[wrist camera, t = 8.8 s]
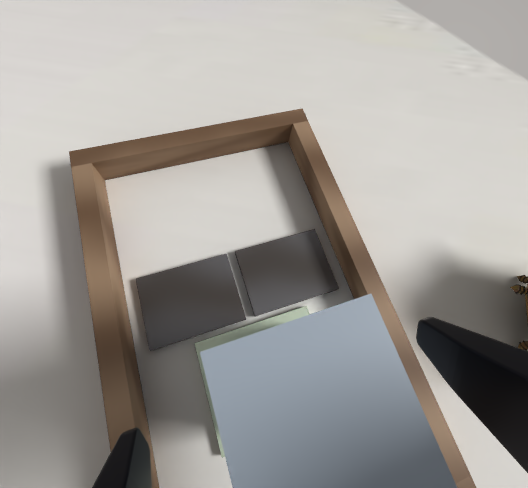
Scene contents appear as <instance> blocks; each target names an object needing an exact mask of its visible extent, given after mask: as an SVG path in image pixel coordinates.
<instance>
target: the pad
mask: <svg viewBox="0 0 528 488" xmlns="http://www.w3.org/2000/svg"><path fill="white" fill-rule="evenodd" d="M307 315H310V314H309V312H308V309H307V306H305V307H302V308H299V309H296V310H293V311H290V312H287V313H284V314H281V315H278V316H275V317H272V318H269V319H266V320H263V321H260V322H257V323H254V324H251V325H248V326H245V327H242V328H239V329H236V330H233V331H230V332H227V333H224V334H221V335H218V336H215V337H212V338H209V339H206V340H203V341H200V342H197V343H195V348H196V352H197V356H198V360H199V364H200V368H201V373H202V377H203V381H204V385H205V389H206V394H207V398H208V402H209V406H210V410H211V414H212V419H213V423H214V427H215V431H216V435H217V439H218V444H219V448H220V452H221V456H222V457H225V453H224V449H223V445H222V441H221V437H220V433H219V429H218V425H217V421H216V416H215V412H214V408H213V404H212V400H211V396H210V392H209V388H208V384H207V380H206V375H205V371H204V367H203V363H202V359H201V355H200V352H201V351H204V350H207V349H210V348H213V347H216V346H219V345H222V344H225V343H228V342H231V341H234V340H237V339H239V338H242V337H245V336H248V335H251V334H254V333H257V332H260V331H263V330H266V329H269V328H272V327H275V326H277V325H280V324H283V323H286V322H289V321H292V320H295V319H298V318H301V317H304V316H307Z"/></svg>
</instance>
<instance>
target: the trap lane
mask: <svg viewBox="0 0 528 488" xmlns="http://www.w3.org/2000/svg"><path fill="white" fill-rule="evenodd" d="M286 142H288V143H289V145H290V147H291V150H292V152H293V155H294V157H295V159H296V162H297V164H298V166H299V169H300V171H301V173H302V176H303V178H304V181H305V183H306V185H307V188H308V190H309V192H310V195H311V197H312V200H313V202H314V204H315V207H316V209H317V211H318V214H319V216H320V219H321V221H322V223H323V226H324V228H325V230H326V233H327V235H328V238H329V240H330V242H331V245H332V247H333V249H334V252H335V254H336V257H337V259H338V261H339V264H340V266H341V268H342V271H343V273H344V276H345V278H346V280H347V283H348V285H349V287H350V290H351V292H352V295H353V297H354V299H356V298H359V297H362V296H365V295H368V294H372V296H373V298H374V301H375V303H376V305H377V307H378V310H379V312H380V314H381V316H382V319H383V321H384V323H385V325H386V328H387V330H388V332H389V335H390V337H391V339H392V341H393V344H394V346H395V348H396V350H397V353H398V355H399V357H400V359H401V362H402V364H403V366H404V368H405V371H406V373H407V375H408V377H409V380H410V382H411V384H412V386H413V389H414V391H415V393H416V395H417V398H418V400H419V402H420V405H421V407H422V409H423V411H424V414H425V416H426V418H427V420H428V423H429V425H430V427H431V429H432V432H433V434H434V436H435V438H436V441H437V443H438V445H439V447H440V450H441V452H442V454H443V456H444V459H445V461H446V463H447V465H448V468H449V470H450V472H451V474H452V477H453V479H454V481H455V484H456V486H457V488H476V486H475V484H474V482H473V479H472V477H471V475H470V473H469V471H468V468H467V466H466V464H465V462H464V460H463V458H462V455H461V453H460V451H459V449H458V447H457V445H456V442H455V440H454V438H453V436H452V434H451V431H450V429H449V427H448V425H447V423H446V421H445V418H444V416H443V414H442V412H441V410H440V407H439V405H438V403H437V401H436V399H435V397H434V394H433V392H432V390H431V388H430V386H429V383H428V381H427V379H426V377H425V375H424V373H423V370H422V368H421V366H420V364H419V362H418V360H417V357H416V355H415V353H414V351H413V349H412V346H411V344H410V342H409V340H408V338H407V336H406V333H405V331H404V329H403V327H402V325H401V322H400V320H399V318H398V316H397V314H396V312H395V309H394V307H393V305H392V303H391V301H390V299H389V296H388V294H387V292H386V290H385V288H384V285H383V283H382V281H381V279H380V277H379V275H378V272H377V270H376V268H375V266H374V264H373V261H372V259H371V257H370V255H369V253H368V251H367V248H366V246H365V244H364V242H363V240H362V238H361V235H360V233H359V231H358V229H357V227H356V224H355V222H354V220H353V218H352V216H351V214H350V211H349V209H348V207H347V205H346V203H345V200H344V198H343V196H342V194H341V192H340V190H339V187H338V185H337V183H336V181H335V179H334V176H333V174H332V172H331V170H330V168H329V166H328V163H327V161H326V159H325V157H324V155H323V153H322V150H321V148H320V146H319V144H318V142H317V139H316V137H315V135H314V133H313V131H312V129H311V126H310V124H309V122H308V120H307V118H306V115H305V113H304V111H303V109H297V110H292V111H286V112H281V113H276V114H270V115H265V116H259V117H254V118H249V119H243V120H238V121H232V122H227V123H221V124H216V125H211V126H205V127H200V128H194V129H189V130H184V131H178V132H173V133H167V134H162V135H157V136H151V137H146V138H140V139H135V140H129V141H124V142H119V143H113V144H108V145H102V146H97V147H92V148H86V149H81V150H75V151H70V152H69V154H70V162H71V169H72V176H73V183H74V190H75V198H76V205H77V212H78V219H79V226H80V234H81V241H82V248H83V255H84V262H85V270H86V277H87V284H88V291H89V298H90V306H91V313H92V320H93V327H94V334H95V342H96V349H97V356H98V363H99V370H100V377H101V385H102V392H103V399H104V406H105V413H106V421H107V428H108V435H109V442H110V449H111V451H112V449H113V448H114V446H115V444H116V442H117V440H118V438H119V436H120V435H121V434H122V433H123V432H125V431H127V430H130V429H133V428H136V427H137V428H139V429H140V430H141V432H142V434H143V435H144V437H145V439H146V440H147V442H148V444H149V448H150V458H151V478H152V488H159V484H158V478H157V472H156V467H155V461H154V456H153V450H152V444H151V439H150V433H149V427H148V422H147V416H146V410H145V405H144V399H143V394H142V388H141V382H140V377H139V371H138V365H137V360H136V354H135V349H134V343H133V337H132V332H131V326H130V320H129V315H128V309H127V303H126V298H125V292H124V287H123V281H122V275H121V270H120V264H119V258H118V253H117V247H116V241H115V236H114V230H113V225H112V219H111V213H110V208H109V202H108V196H107V191H106V185H105V180H107V179H112V178H117V177H122V176H127V175H132V174H136V173H141V172H146V171H151V170H156V169H160V168H165V167H170V166H175V165H180V164H185V163H189V162H194V161H199V160H204V159H209V158H213V157H218V156H223V155H228V154H233V153H238V152H242V151H247V150H252V149H257V148H262V147H266V146H271V145H276V144H281V143H286ZM235 254H236V257H237V260H238V263H239V267H240V270H241V273H242V276H243V280H244V283H245V286H246V289H247V293H248V296H249V299H250V302H251V305H252V309H253V312H254V315H255V316H258V315H261V314H264V313H267V312H270V311H273V310H276V309H279V308H282V307H285V306H288V305H292V304H295V303H298V302H301V301H304V300H307V299H310V298H313V297H316V296H319V295H322V294H325V293H328V292H331V291H334V290H337V289H339V287H338V285H337V282H336V280H335V278H334V275H333V273H332V270H331V268H330V265H329V263H328V260H327V258H326V256H325V253H324V251H323V248H322V246H321V243H320V241H319V238H318V236H317V234H316V231H315V229H313V230H310V231H306V232H303V233H299V234H295V235H292V236H288V237H285V238H281V239H277V240H274V241H270V242H267V243H263V244H259V245H256V246H252V247H249V248H245V249H241V250H238V251H235ZM136 282H137V287H138V292H139V298H140V303H141V308H142V313H143V318H144V324H145V329H146V334H147V339H148V344H149V350H150V351H152V350H155V349H158V348H161V347H164V346H167V345H170V344H173V343H176V342H179V341H182V340H185V339H188V338H191V337H194V336H197V335H200V334H203V333H206V332H209V331H213V330H216V329H219V328H222V327H225V326H228V325H231V324H234V323H237V322H240V321H243V320H246V317H245V314H244V310H243V307H242V304H241V300H240V297H239V294H238V290H237V287H236V284H235V280H234V277H233V273H232V270H231V267H230V263H229V260H228V257H227V254H223V255H220V256H216V257H213V258H209V259H205V260H202V261H198V262H195V263H191V264H187V265H184V266H180V267H177V268H173V269H169V270H166V271H162V272H159V273H155V274H151V275H148V276H144V277H141V278H137V279H136Z"/></svg>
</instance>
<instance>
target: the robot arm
mask: <svg viewBox="0 0 528 488" xmlns="http://www.w3.org/2000/svg"><path fill="white" fill-rule="evenodd" d="M416 339H417V343H418V345H419V346H420V348H421V349H422V350H423V351H424V353H425V354H426V355H427V357H428V358H429V359H430V361H431V362H432V363H433V365H434V366H435V367H436V369H437V370H438V371H439V373H440V374H441V375H442V377H443V378H444V379H445V381H446V382H447V383H448V384H449V386H450V387H451V388H452V389H453V390H454V392H455V393H456V394H457V395H458V396H459V397H460V398H461V399H462V401H463V402H464V403H465V404H466V405H467V406H468V407H469V408H470V409H471V411H472V412H473V413H474V414H475V415H476V416H477V417H478V418H479V419H480V421H481V422H482V423H483V424H484V425H485V426H486V427H487V428H488V429H489V431H490V432H491V433H492V434H493V435H494V436H495V437H496V438H497V439H498V441H499V442H500V443H501V444H502V445H503V446H504V447H505V448H506V449H507V451H508V452H509V453H510V454H511V455H512V456H513V457H514V458H515V459H516V461H517V462H518V463H519V464H520V465H521V466H522V467H523V468H524V469H525V471H526V472H527V473H528V351H525V350H522V349H520V348H517V347H514V346H511V345H508V344H506V343H503V342H500V341H497V340H495V339H492V338H489V337H486V336H483V335H481V334H478V333H475V332H472V331H470V330H467V329H464V328H461V327H459V326H456V325H453V324H450V323H447V322H445V321H442V320H439V319H436V318H433V317H427V318H425V319H422V320H420V321H419V322H418V328H417V336H416ZM92 488H152V478H151V458H150V448H149V444H148V442H147V440H146V439H145V437H144V435H143V434H142V432H141V430H140V429H139V428H137V427H136V428H133V429H130V430H127V431H125V432H123V433H122V434H121V435H120V436H119V438H118V440H117V442H116V444H115V446H114V448H113V449H112V451H111V453H110V455H109V457H108V459H107V461H106V463H105V465H104V466H103V468H102V470H101V472H100V474H99V476H98V478H97V480H96V481H95V483H94V485H93V487H92Z"/></svg>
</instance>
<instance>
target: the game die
mask: <svg viewBox="0 0 528 488" xmlns="http://www.w3.org/2000/svg"><path fill="white" fill-rule="evenodd" d="M517 278H518V279H519V281H520V282H523V283H525V284H526V283H528V277H526V276H525V275H522V276H517ZM510 288H512V289H513V290H514V292H515V293H516V294H517V293H520V295H522V294H525V299H526V310H527V321H528V284H527V287H526V288H525V286H521V285H515V286H512V287H510ZM519 343H520V344H519V346H518V348H520V349H522V350H526V351H527V349H528V341H523V342H522V343H521V342H519Z"/></svg>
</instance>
